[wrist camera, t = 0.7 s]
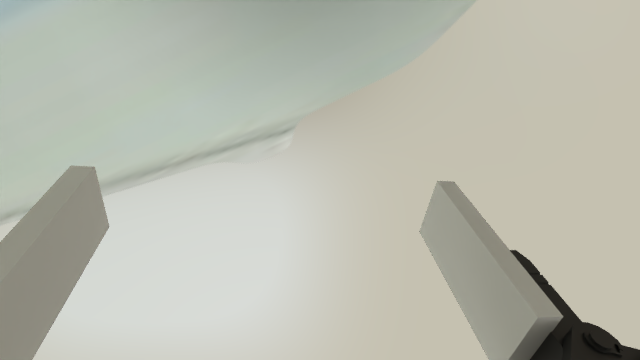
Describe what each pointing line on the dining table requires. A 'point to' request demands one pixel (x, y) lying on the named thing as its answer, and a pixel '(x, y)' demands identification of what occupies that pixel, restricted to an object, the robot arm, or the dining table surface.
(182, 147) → the dining table surface
